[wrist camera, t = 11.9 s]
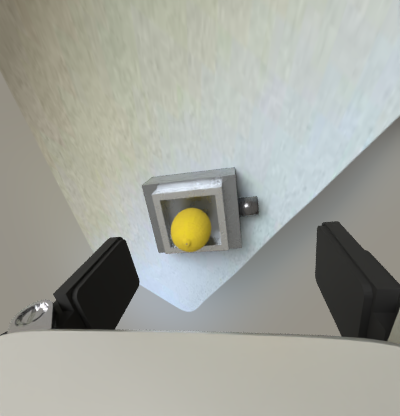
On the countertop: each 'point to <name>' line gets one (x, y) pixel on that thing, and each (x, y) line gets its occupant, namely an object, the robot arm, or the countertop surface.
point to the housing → (198, 206)
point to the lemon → (190, 229)
